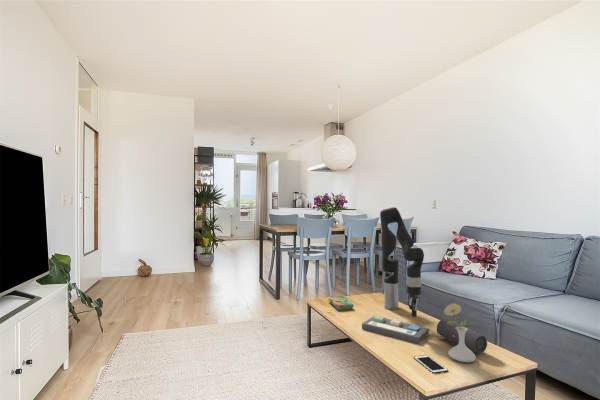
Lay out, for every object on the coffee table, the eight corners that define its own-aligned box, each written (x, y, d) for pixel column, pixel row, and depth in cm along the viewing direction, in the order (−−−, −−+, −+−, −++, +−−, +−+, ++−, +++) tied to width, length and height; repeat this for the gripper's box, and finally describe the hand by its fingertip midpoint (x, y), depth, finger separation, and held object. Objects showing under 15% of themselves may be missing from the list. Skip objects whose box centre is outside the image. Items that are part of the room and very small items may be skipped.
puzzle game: (337, 304, 215) (327, 295, 234) (337, 311, 215) (327, 302, 234) (353, 302, 217) (343, 294, 237) (353, 309, 217) (343, 301, 237)
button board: (374, 320, 196) (374, 314, 196) (428, 333, 176) (428, 327, 176) (361, 328, 184) (361, 322, 184) (418, 343, 164) (418, 336, 164)
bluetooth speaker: (435, 339, 169) (435, 319, 170) (448, 336, 173) (448, 317, 173) (474, 357, 149) (474, 336, 149) (488, 354, 152) (487, 332, 152)
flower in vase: (473, 355, 151) (473, 301, 151) (478, 366, 140) (477, 308, 141) (443, 351, 155) (442, 298, 156) (445, 362, 145) (445, 306, 145)
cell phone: (427, 356, 151) (427, 354, 151) (449, 372, 136) (449, 370, 136) (412, 358, 149) (412, 356, 149) (433, 374, 135) (433, 372, 135)
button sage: (377, 321, 191) (377, 315, 191) (385, 323, 188) (385, 317, 188) (373, 323, 187) (373, 317, 187) (381, 325, 184) (381, 319, 184)
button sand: (393, 325, 185) (393, 318, 185) (402, 327, 182) (402, 320, 182) (389, 327, 181) (389, 321, 181) (398, 329, 178) (398, 323, 178)
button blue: (410, 331, 179) (410, 324, 179) (420, 333, 175) (420, 327, 176) (407, 334, 175) (407, 327, 175) (416, 336, 172) (416, 329, 172)
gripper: (411, 281, 183) (411, 311, 183) (402, 286, 173) (402, 318, 173) (424, 283, 178) (425, 314, 178) (416, 288, 168) (417, 321, 168)
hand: (414, 316), depth 175 cm, fingers closed
